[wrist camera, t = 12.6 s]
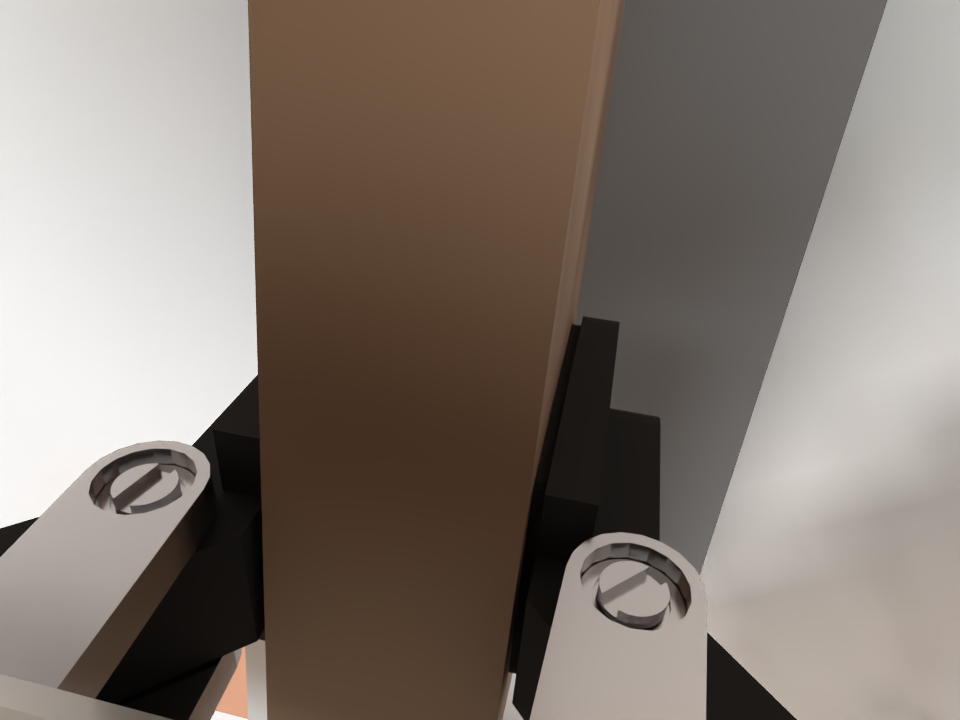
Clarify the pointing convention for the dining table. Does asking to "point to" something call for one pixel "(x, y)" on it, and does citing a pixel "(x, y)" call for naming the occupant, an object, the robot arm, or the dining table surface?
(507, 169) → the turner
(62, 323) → the dining table surface
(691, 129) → the tool board
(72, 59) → the dining table surface
